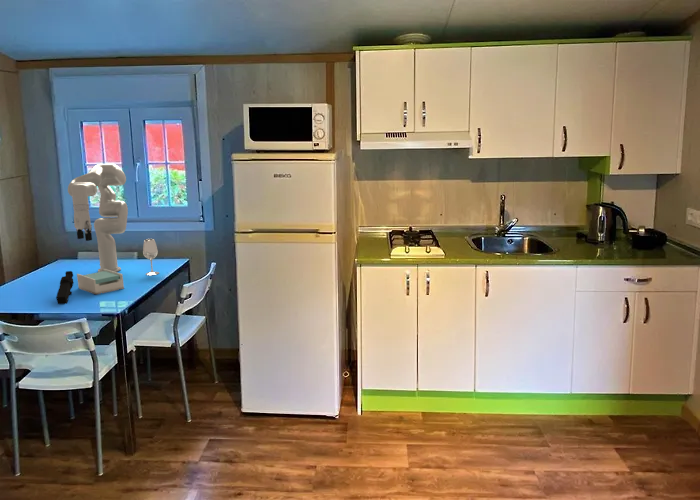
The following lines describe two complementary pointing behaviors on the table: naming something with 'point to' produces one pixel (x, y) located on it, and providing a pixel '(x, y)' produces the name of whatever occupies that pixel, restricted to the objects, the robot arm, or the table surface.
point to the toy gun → (65, 288)
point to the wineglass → (150, 253)
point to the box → (100, 284)
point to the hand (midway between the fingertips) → (84, 239)
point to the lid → (102, 276)
